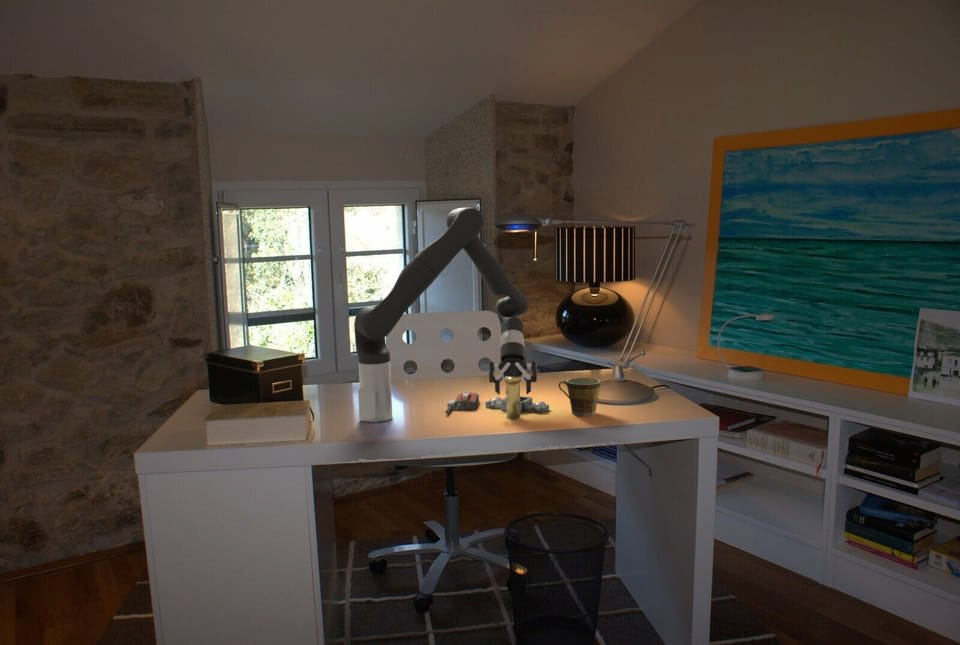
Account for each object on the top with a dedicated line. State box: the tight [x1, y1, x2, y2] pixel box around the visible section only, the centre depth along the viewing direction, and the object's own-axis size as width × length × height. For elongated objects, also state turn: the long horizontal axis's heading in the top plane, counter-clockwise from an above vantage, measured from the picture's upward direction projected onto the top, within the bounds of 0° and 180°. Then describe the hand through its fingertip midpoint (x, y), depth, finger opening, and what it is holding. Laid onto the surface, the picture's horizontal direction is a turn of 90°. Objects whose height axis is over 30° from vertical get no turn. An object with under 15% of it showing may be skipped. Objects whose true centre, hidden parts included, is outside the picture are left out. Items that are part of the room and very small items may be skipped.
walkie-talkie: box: [444, 391, 480, 415], centre depth 228 cm, size 9×4×20 cm
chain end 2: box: [500, 395, 550, 414], centre depth 225 cm, size 8×14×3 cm, turn 62°
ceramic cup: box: [558, 377, 601, 418], centre depth 218 cm, size 13×10×10 cm
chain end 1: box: [484, 396, 503, 410], centre depth 229 cm, size 5×7×2 cm
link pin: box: [504, 376, 522, 420], centre depth 215 cm, size 5×5×12 cm
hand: (513, 392), depth 215 cm, fingers open, 8 cm apart
